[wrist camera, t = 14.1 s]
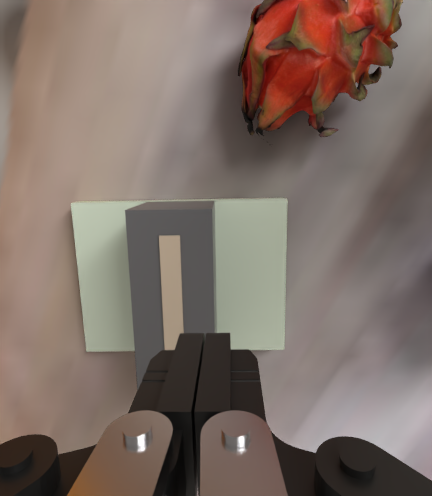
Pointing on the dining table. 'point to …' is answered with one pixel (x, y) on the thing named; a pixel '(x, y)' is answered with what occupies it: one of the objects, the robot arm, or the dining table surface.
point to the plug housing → (170, 274)
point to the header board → (227, 272)
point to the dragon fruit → (313, 56)
